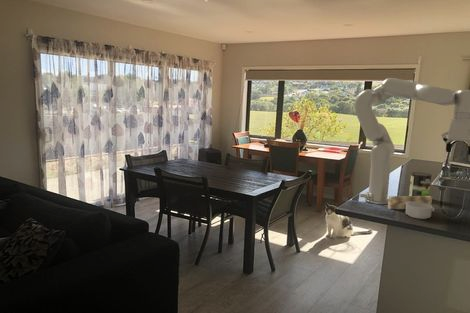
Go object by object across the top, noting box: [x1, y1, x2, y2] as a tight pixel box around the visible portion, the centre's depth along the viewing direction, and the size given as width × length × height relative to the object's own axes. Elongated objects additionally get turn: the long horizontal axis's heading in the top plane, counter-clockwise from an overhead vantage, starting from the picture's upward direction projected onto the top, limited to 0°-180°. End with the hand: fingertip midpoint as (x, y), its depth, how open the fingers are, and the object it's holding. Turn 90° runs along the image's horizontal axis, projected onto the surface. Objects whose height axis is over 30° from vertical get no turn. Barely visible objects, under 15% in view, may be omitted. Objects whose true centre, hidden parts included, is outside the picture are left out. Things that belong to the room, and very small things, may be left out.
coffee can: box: [408, 171, 433, 196], centre depth 204 cm, size 10×10×14 cm
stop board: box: [387, 195, 433, 210], centre depth 184 cm, size 22×2×6 cm, turn 97°
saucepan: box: [405, 202, 455, 220], centre depth 170 cm, size 12×20×6 cm, turn 63°
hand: (459, 153), depth 174 cm, fingers open, 9 cm apart
